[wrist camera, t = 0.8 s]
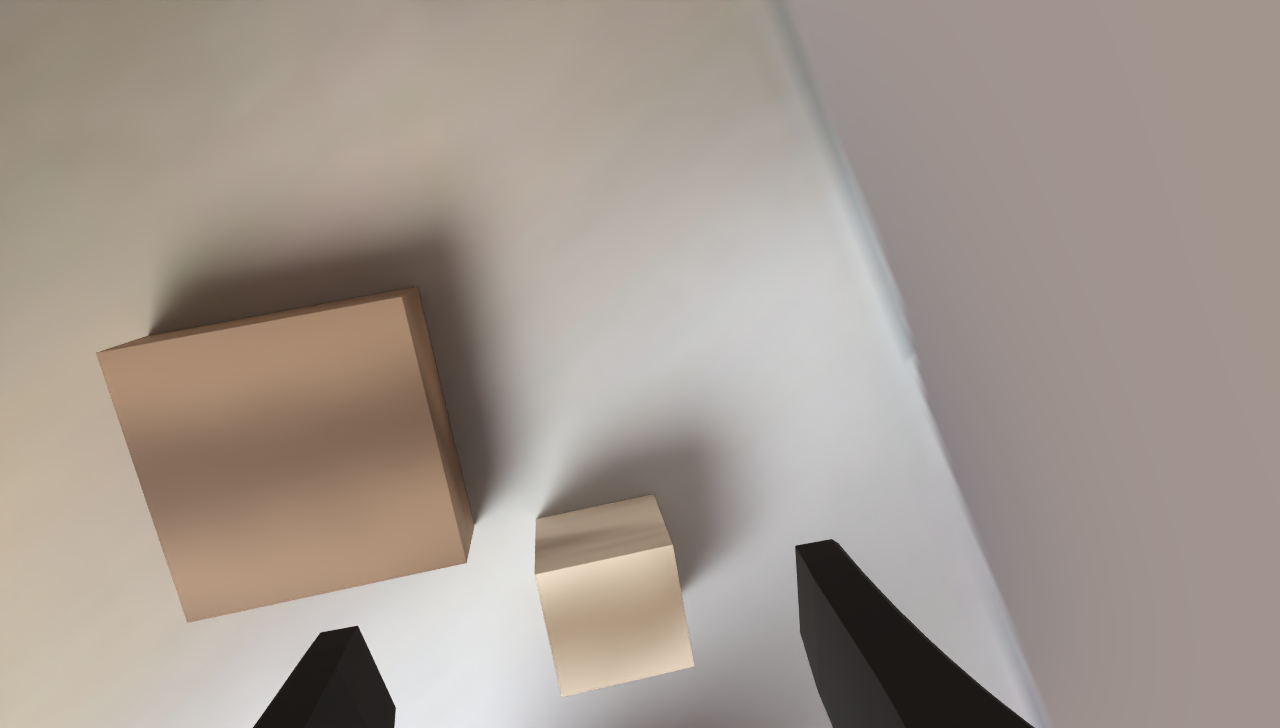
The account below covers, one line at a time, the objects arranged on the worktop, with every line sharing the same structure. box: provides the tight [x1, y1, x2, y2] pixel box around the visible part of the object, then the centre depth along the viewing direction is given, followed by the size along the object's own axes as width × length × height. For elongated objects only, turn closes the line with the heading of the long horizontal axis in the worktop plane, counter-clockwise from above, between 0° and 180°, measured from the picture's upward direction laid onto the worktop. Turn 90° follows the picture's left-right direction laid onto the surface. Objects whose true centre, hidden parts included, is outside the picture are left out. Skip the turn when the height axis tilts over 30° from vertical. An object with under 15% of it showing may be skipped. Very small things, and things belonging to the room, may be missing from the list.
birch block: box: [535, 494, 694, 697], centre depth 27 cm, size 4×4×4 cm
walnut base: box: [96, 287, 474, 623], centre depth 26 cm, size 9×9×3 cm
